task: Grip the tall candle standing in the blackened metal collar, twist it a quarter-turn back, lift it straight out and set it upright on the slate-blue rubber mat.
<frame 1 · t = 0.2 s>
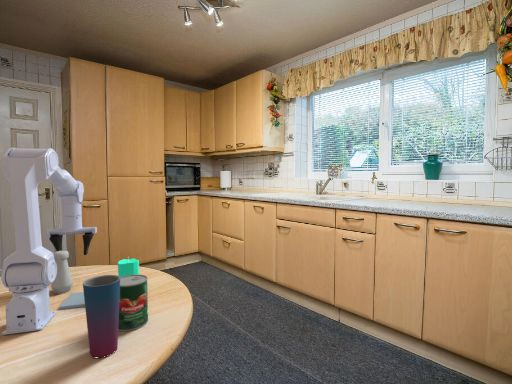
hand: (73, 255, 98), 10 cm above the table, tool pointing down, fingers open, 7 cm apart
candle: (129, 294, 89), resting in collar
canned tomato: (131, 323, 71), on the table
salt shaker: (62, 291, 92), on the table
mat: (85, 300, 85), on the table
collar: (129, 293, 89), on the table
cup: (104, 352, 60), on the table
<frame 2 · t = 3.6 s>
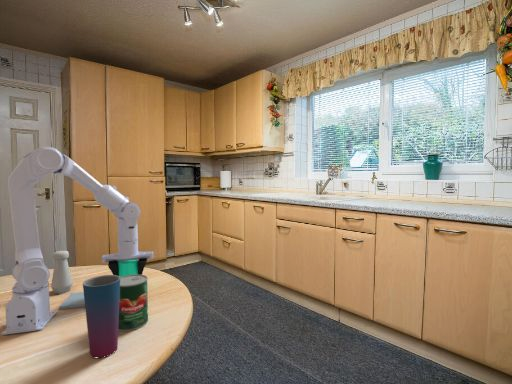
hand: (129, 283, 89), 3 cm above the table, tool pointing down, fingers closed on candle, 6 cm apart
candle: (129, 294, 89), resting in collar, touching gripper
everything else where it was.
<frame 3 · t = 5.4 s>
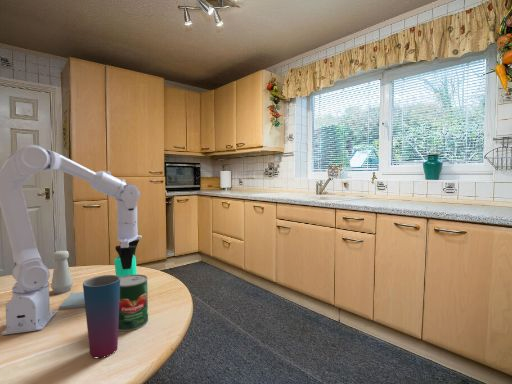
hand: (128, 265, 89), 9 cm above the table, tool pointing down, fingers closed on candle, 6 cm apart
candle: (128, 290, 89), point 1 cm above the table, touching gripper
everything else where it was.
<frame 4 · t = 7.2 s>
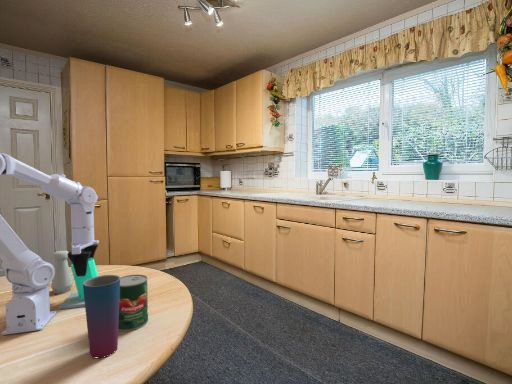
hand: (84, 272, 85), 8 cm above the table, tool pointing down, fingers closed on candle, 6 cm apart
candle: (91, 295, 86), point 1 cm above the table, touching gripper, mat
everything else where it was.
when the fingers open (6 cm above the table, at t = 8.3 s): candle stays where it is, resting on mat.
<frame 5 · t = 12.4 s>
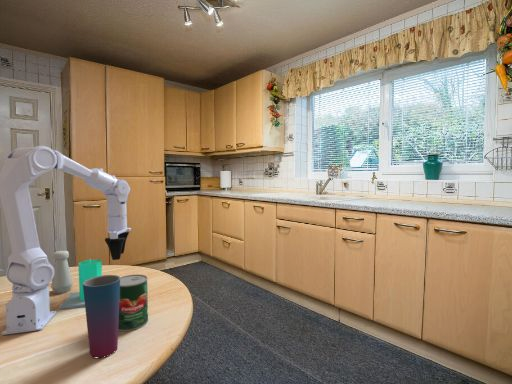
hand: (118, 256, 95), 10 cm above the table, tool pointing down, fingers open, 7 cm apart
candle: (91, 296, 86), point 1 cm above the table, touching mat
everything else where it was.
at the end: candle inside the target area on the mat (1.6 cm from its centre), point 0.6 cm above the mat's base; candle tilted 0°; the gripper is holding nothing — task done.
